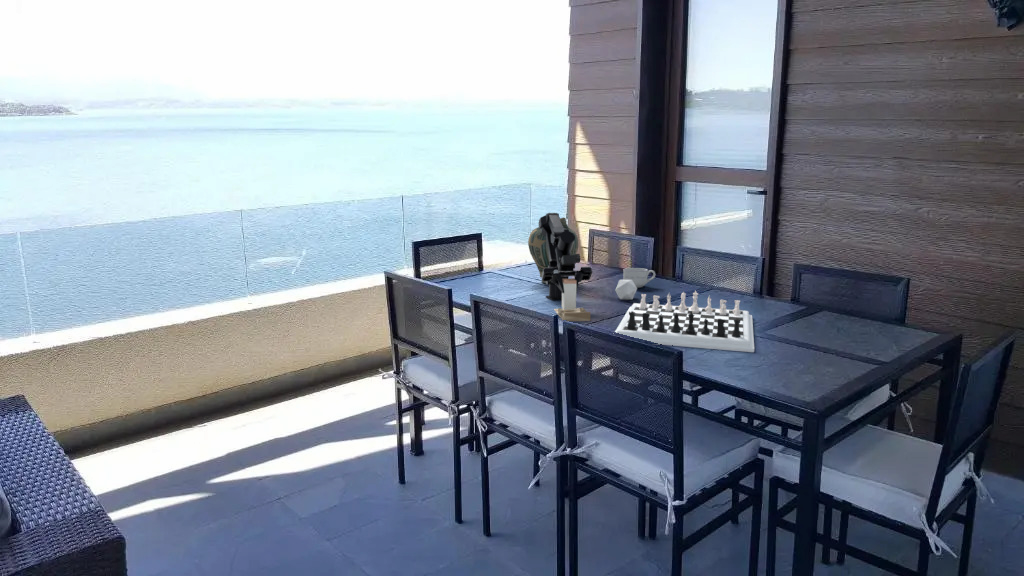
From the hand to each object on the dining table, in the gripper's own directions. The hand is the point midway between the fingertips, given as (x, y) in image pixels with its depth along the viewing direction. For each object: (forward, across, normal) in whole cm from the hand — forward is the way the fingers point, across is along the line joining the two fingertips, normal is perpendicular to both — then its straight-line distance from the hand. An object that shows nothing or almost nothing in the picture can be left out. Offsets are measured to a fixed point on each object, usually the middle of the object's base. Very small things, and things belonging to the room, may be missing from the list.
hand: (569, 292), depth 283 cm
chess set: (+25, +36, -13) cm, 45 cm away
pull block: (+4, 0, +6) cm, 7 cm away
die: (-9, +28, +21) cm, 37 cm away
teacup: (-24, +41, +36) cm, 60 cm away
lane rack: (+8, 0, +3) cm, 9 cm away
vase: (-34, +5, +46) cm, 58 cm away
